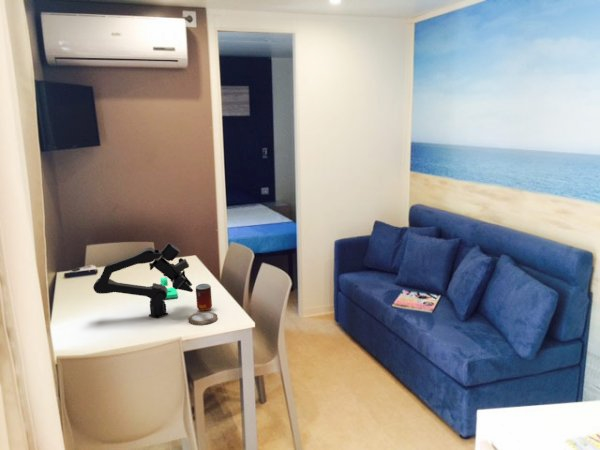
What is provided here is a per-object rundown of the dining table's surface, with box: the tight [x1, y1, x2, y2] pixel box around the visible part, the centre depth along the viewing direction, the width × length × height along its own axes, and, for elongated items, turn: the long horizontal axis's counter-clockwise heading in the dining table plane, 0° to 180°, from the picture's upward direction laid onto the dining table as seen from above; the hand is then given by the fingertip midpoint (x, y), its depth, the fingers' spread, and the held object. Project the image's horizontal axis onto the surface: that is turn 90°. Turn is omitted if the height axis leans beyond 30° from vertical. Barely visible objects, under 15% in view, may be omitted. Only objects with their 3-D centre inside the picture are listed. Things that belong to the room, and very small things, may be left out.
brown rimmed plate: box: [187, 311, 218, 326], centre depth 227 cm, size 13×13×1 cm
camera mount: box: [160, 276, 178, 299], centre depth 261 cm, size 12×8×10 cm, turn 17°
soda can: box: [195, 283, 213, 313], centre depth 238 cm, size 7×7×12 cm
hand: (192, 288), depth 236 cm, fingers open, 9 cm apart
